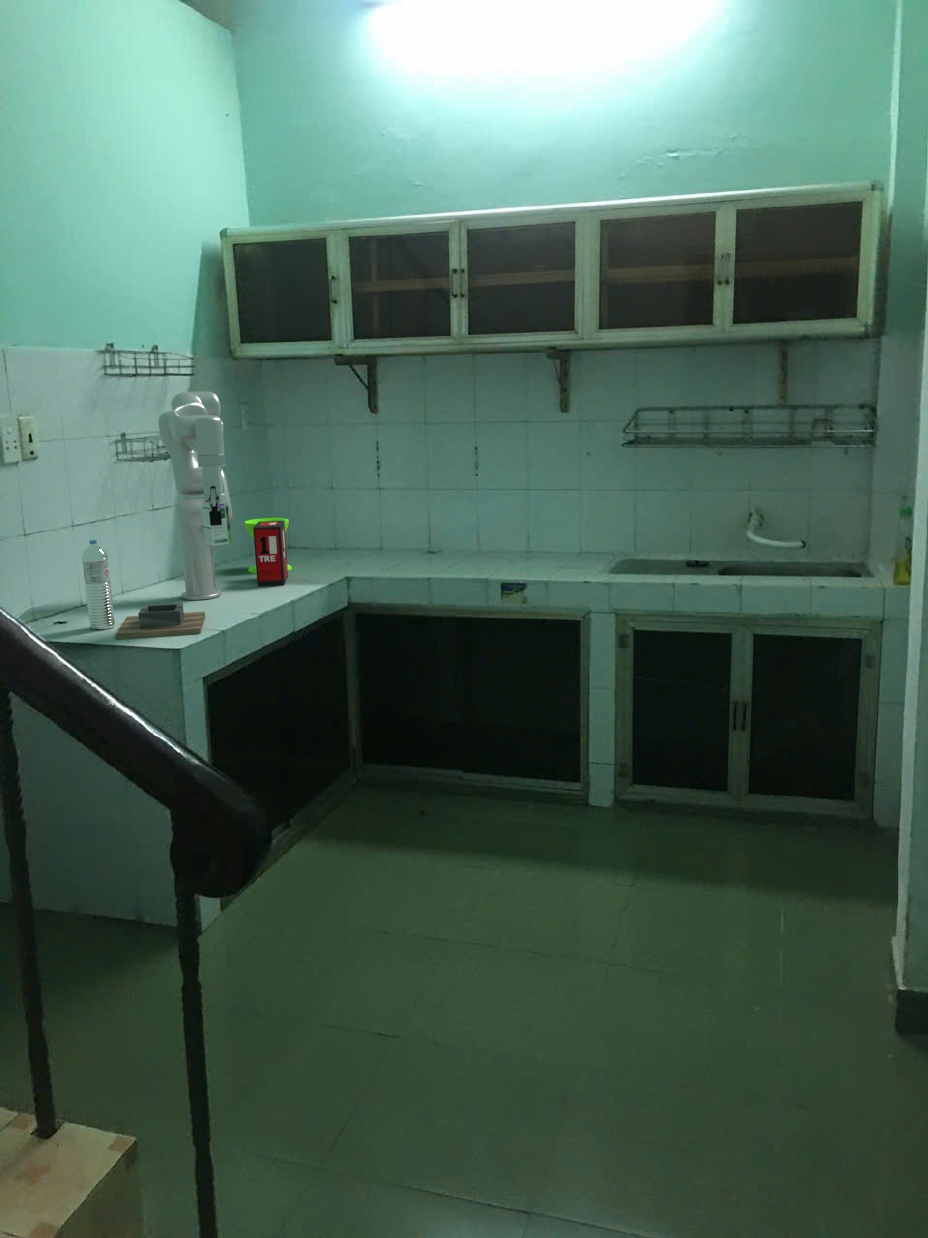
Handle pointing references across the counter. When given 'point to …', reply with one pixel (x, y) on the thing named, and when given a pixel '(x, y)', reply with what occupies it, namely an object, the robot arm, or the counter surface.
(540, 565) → the counter surface
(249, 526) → the wineglass
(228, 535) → the syrup box
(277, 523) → the cleaning product box
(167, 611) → the socket board
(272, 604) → the counter surface
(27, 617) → the counter surface
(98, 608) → the water bottle
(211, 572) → the robot arm
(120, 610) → the counter surface
